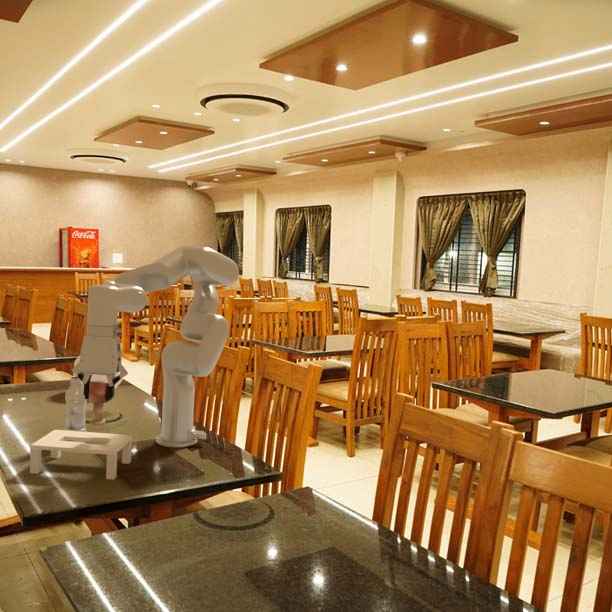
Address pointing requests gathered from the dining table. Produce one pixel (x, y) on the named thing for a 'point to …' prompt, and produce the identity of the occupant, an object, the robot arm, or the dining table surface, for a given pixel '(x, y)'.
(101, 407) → the peg
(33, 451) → the keyhole plate
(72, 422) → the plastic bottle
